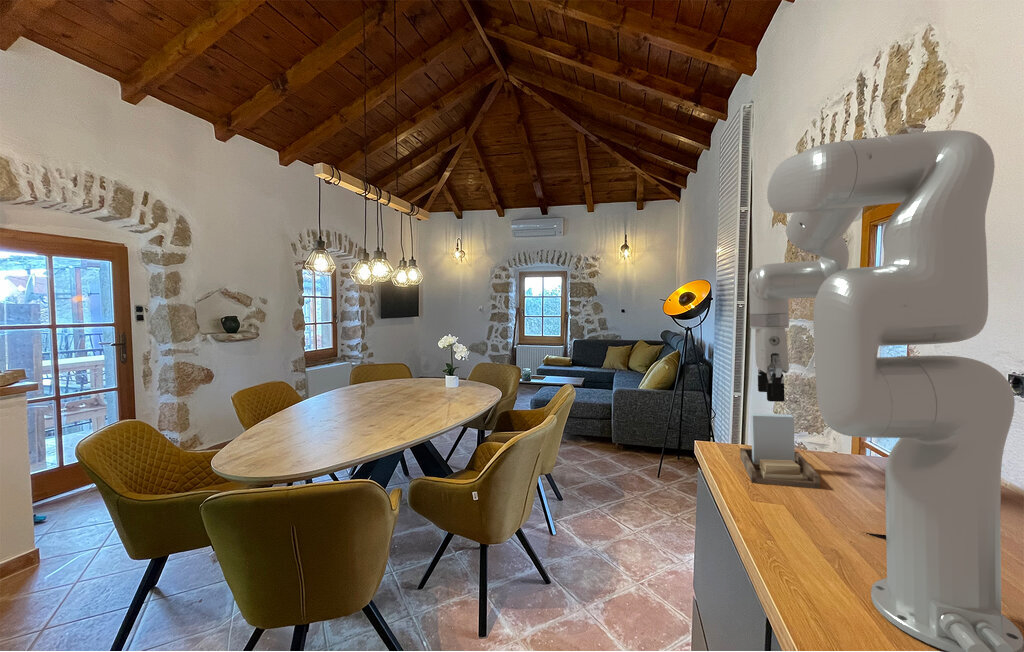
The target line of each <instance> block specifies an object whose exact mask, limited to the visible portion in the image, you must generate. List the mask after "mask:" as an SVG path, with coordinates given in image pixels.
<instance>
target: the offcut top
mask: <svg viewBox="0 0 1024 652" xmlns="http://www.w3.org/2000/svg"><path fill="white" fill-rule="evenodd" d="M760 468H761V469H762V470H763V471H764V472H765V473H766V474H788V475H800V466H799V465H798V464H796V463H795V462H794V461H793V460H763V459H760Z"/></svg>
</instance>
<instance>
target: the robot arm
mask: <svg viewBox="0 0 1024 652" xmlns="http://www.w3.org/2000/svg"><path fill="white" fill-rule="evenodd" d="M994 157H995V156H994V153H993V150H992V148H991V145H990V144H989V143H988V142H987V140H986V139H984V138H983V137H982V136H980V135H979V134H977V133H974V132H971V131H968V130H958V129H957V130H955V129H953V130H952V129H951V130H950V129H949V130H948V129H947V130H932V131H921V132H918V131H917V132H910V133H902V134H901V133H899V134H892V135H885V136H878V137H869V138H858V139H851V140H842V141H841V140H840V141H833V142H828V143H824V144H819V145H815V146H813V147H811V148H808V149H806V150H804V151H802V152H799V153H797V154H794V155H792V156H790V157H787V158H786V159H785V160H783V161H782V162H781V163H780V164H779V165H778V166H777V167H776V168H775V169H774V171H773V173H772V175H771V177H770V179H769V182H768V186H767V191H766V194H767V195H766V197H767V203H768V205H769V207H770V208H771V209H772V211H774V212H775V213H778V214H792V215H791V217H790V219H789V221H788V222H787V224H786V228H785V234H786V237H787V239H788V241H789V242H790V243H791V244H792V245H793V246H795V247H796V248H797V249H800V250H801V251H804V252H806V253H810V254H812V255H815V256H817V257H819V258H818V259H816V260H808V261H807V260H806V261H791V262H777V263H767V264H763V265H761V266H759V267H755V268H753V269H751V270H750V271H749V275H748V283H749V285H748V286H749V287H748V289H749V290H748V291H749V293H748V295H749V328H750V329H752V330H755V332H754V333H755V335H754V338H755V339H754V340H755V341H754V343H755V344H754V345H755V346H754V349H755V355H754V356H755V364H756V367H757V369H758V370H757V373H758V374H757V391H758V392H759V393H766V401H767V402H779V403H780V402H781V403H784V402H785V379H784V374H787V373H789V371H790V365H789V364H790V362H789V350H788V348H789V347H788V346H789V345H788V339H787V331H786V329H789V327H790V325H789V323H790V321H789V320H790V316H789V315H790V314H789V313H790V312H789V300H790V299H810V298H811V299H812V298H815V300H814V303H813V310H812V311H813V314H812V315H813V317H812V318H813V319H812V320H813V321H812V322H813V323H812V324H813V344H814V345H813V346H814V369H815V370H814V371H815V374H814V375H815V392H816V400H817V401H816V402H817V406H818V409H819V412H820V415H821V417H822V419H823V421H824V422H825V424H826V425H827V426H828V427H829V428H830V429H831V430H833V431H835V432H836V433H838V434H840V435H844V436H848V437H854V438H873V439H874V438H875V439H876V438H878V439H879V438H880V439H884V438H885V439H886V438H887V439H889V438H891V439H897V438H898V440H897V441H896V443H895V444H894V446H893V447H892V449H891V451H890V452H889V455H888V457H887V460H886V464H885V468H884V469H885V470H884V473H885V474H884V478H885V479H884V480H885V481H884V483H885V484H884V486H885V487H884V488H885V491H884V493H885V494H884V495H885V499H884V500H885V535H886V540H885V543H886V546H885V547H886V549H885V550H886V577H885V578H882V579H879V580H877V581H875V582H874V583H873V584H872V585H871V590H870V592H871V593H870V595H871V601H872V603H873V605H874V607H875V608H876V610H877V611H878V612H879V613H880V614H881V615H882V616H883V617H884V618H885V619H886V620H887V621H888V622H890V623H891V624H892V625H894V626H895V627H897V628H898V629H899V630H901V631H903V632H904V633H907V634H908V635H909V636H911V637H913V638H915V639H917V640H919V641H922V642H923V643H926V644H928V645H930V646H933V647H935V648H937V649H939V650H942V651H945V652H1024V636H1023V635H1022V632H1021V631H1020V629H1019V628H1018V627H1017V626H1016V625H1015V624H1014V623H1013V622H1012V621H1011V620H1010V619H1009V618H1007V616H1005V615H1004V614H1002V549H1001V548H1002V544H1001V541H1002V540H1001V533H1002V531H1001V529H1002V528H1001V527H1002V526H1001V525H1002V524H1001V523H1002V522H1001V521H1002V520H1001V503H1002V502H1001V501H1002V499H1001V498H1002V497H1001V496H1002V495H1001V493H1002V492H1001V491H1002V489H1001V487H1002V486H1001V485H1002V484H1001V483H1002V482H1001V481H1002V464H1003V455H1004V450H1005V445H1006V442H1007V438H1008V434H1009V431H1010V428H1011V425H1012V422H1013V417H1014V414H1015V407H1016V406H1015V402H1016V401H1015V395H1014V391H1013V388H1012V387H1011V384H1010V382H1009V381H1008V380H1007V378H1006V377H1005V376H1004V374H1003V373H1002V372H1000V371H999V370H998V369H996V368H995V367H993V366H991V365H990V364H988V363H986V362H983V361H980V360H978V359H973V358H969V357H963V356H957V355H942V354H941V355H939V354H938V355H906V356H905V355H904V356H903V355H901V356H886V357H885V356H883V357H880V356H878V353H879V352H878V351H879V348H880V347H881V346H882V347H883V346H884V347H885V346H886V347H888V346H913V345H914V346H916V345H917V346H918V345H920V346H922V345H939V344H952V343H957V342H958V343H959V342H963V341H967V340H970V339H972V338H974V337H975V336H977V335H979V334H980V333H981V332H982V331H983V329H984V327H985V325H986V324H987V320H988V315H989V277H988V275H989V274H988V255H987V254H988V253H987V252H988V251H987V249H988V248H987V235H986V214H987V207H988V202H989V198H990V194H991V191H992V187H993V182H994V176H995V168H996V167H995V166H996V165H995V158H994ZM899 203H900V204H899ZM888 204H889V205H890V204H899V205H898V207H896V209H895V210H894V212H893V213H892V215H891V216H890V218H889V219H888V221H887V223H886V224H885V227H884V230H883V235H882V236H883V237H882V245H883V246H882V247H883V263H882V266H881V265H880V266H877V265H876V266H866V267H865V266H863V267H853V268H848V267H849V261H850V251H849V246H848V244H847V242H846V240H845V239H844V237H843V236H844V235H845V234H846V233H847V231H848V229H849V228H850V227H851V225H852V223H853V222H855V220H856V217H857V216H858V215H859V213H861V211H862V209H863V208H864V207H868V206H878V205H888ZM783 373H784V374H783Z"/></svg>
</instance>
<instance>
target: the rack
mask: <svg viewBox="0 0 1024 652" xmlns="http://www.w3.org/2000/svg"><path fill="white" fill-rule="evenodd" d="M739 450H740V451H739V452H740V453H739V454H740V461H741V463H742V466H743V467H744V469H745V471H746V474H747V475H748V477H749V479H750V481H751V483H752V484H761V485H770V486H771V485H773V486H785V487H786V486H787V487H794V488H796V487H797V488H806V489H819V490H820V489H821V481H820V480H821V478H820V477H821V476H820V475H819V474H818V472H817V471H815V469H814V468H813V467H812V465H811V464H810V463H808V461H807V460H806V459H805V458H804V456H802V454H800V452H799V451H795V463H796V464H798V465H799V466H800V473H801V474H802V475H803V481H800V480H788V479H776V478H764V477H762V476H761V468H760V463H752V448H742V447H740V449H739Z"/></svg>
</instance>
